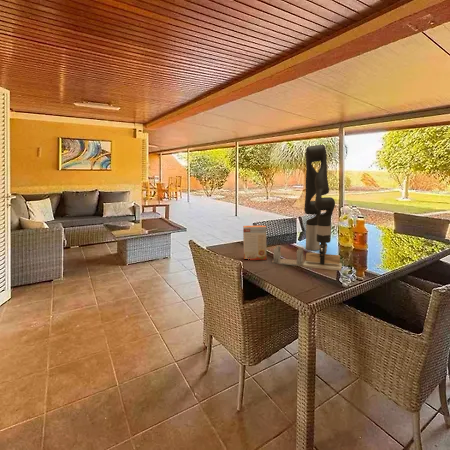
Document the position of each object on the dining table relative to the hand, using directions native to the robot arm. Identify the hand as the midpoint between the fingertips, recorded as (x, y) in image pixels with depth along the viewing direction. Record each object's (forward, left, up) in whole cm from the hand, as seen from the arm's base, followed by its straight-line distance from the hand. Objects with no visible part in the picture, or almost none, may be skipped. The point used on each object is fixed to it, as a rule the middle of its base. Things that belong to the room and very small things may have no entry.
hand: (322, 262), depth 170 cm
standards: (0, -19, -2) cm, 20 cm away
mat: (0, 0, -2) cm, 2 cm away
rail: (0, 0, +1) cm, 1 cm away
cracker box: (-1, -40, -2) cm, 41 cm away
